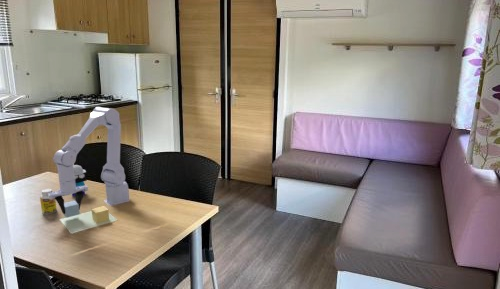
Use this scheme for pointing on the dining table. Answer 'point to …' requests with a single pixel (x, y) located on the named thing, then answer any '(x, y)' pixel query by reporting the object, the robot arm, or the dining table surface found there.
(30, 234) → the dining table surface
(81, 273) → the dining table surface
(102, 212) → the mustard brick
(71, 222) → the baseplate
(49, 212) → the supplement bottle
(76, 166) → the toy
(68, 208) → the blue brick
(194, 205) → the dining table surface
